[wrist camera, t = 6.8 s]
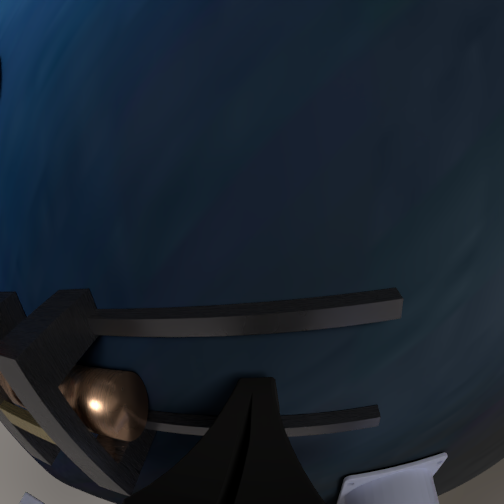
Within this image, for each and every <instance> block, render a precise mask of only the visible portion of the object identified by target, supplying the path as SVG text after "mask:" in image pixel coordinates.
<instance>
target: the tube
mask: <svg viewBox="0 0 504 504" xmlns="http://www.w3.org/2000/svg"><path fill="white" fill-rule="evenodd" d="M0 385H1V386H2V388H3V389H4V391H5V392H6V393H7V395H8V396H9V398H10V399H11V400H12V402H13V403H15V404H17V405H19V406H21V407H24V408H25V406H24V405H23V404H22V402H21V401H20V399H19V398H18V397H17V395H16V394H15V392H14V391H13V390H12V388H11V387H10V385H9V384H8V382H7V381H6V379H5V378H4V376H3V374H2V373H1V371H0ZM58 388H59V390H60V391H61V393H62V394H63V396H64V397H65V398H66V400H67V401H68V403H69V404H70V406H71V407H72V408H73V410H74V411H75V413H76V414H77V415H78V417H79V418H80V419H81V421H82V422H83V423H84V424H85V426H86V427H87V428H88V430H89V431H90V432H93V433H97V434H100V435H104V436H108V437H112V438H116V439H120V440H124V441H133V440H135V439H137V438H138V437H139V436H140V435H141V433H142V432H143V430H144V428H145V425H146V422H147V417H148V396H147V391H146V388H145V385H144V383H143V381H142V380H141V378H140V377H139V376H138V375H137V374H136V373H134V372H129V371H119V370H111V369H102V368H95V367H88V366H81V365H75V366H74V367H73V368H72V369H71V371H70V372H69V373H68V375H67V376H66V377H65V378H64V380H63V381H62V382H61V384H60V385H59V386H58Z"/></svg>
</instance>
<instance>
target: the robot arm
mask: <svg viewBox="0 0 504 504" xmlns="http://www.w3.org/2000/svg"><path fill="white" fill-rule="evenodd" d="M446 458H447V453H441V454H438V455H435V456H432V457H428V458H425V459H422V460H418V461H415V462H411V463H407V464H404V465H400V466H396V467H391V468H387V469H382V470H378V471H373V472H367V473H362V474H356V475H350V476H347V477H345V478H344V480H343V484H342V487H341V491H340V494H339V498H338V501H337V504H439V501H438V496H437V492H436V489H435V485H434V481H433V475H434V474H435V473H436V472H437V470H438V469H439V468H440V466H441V465H442V464H443V462H444V461H445V460H446ZM19 504H44V503H43V502H41V501H40V500H38V499H37V498H35V497H33V496H32V495H31V494H29V493H27V492H25V494H24V496H23V498H22V499H21V501H20V503H19ZM122 504H326V503H325V502H324V501H323V499H322V498H321V497H320V495H319V494H318V492H317V491H316V489H315V488H314V486H313V485H312V483H311V481H310V480H309V478H308V476H307V475H306V473H305V471H304V470H303V468H302V466H301V464H300V462H299V460H298V458H297V456H296V454H295V452H294V450H293V448H292V446H291V444H290V441H289V439H288V436H287V434H286V431H285V428H284V426H283V423H282V419H281V416H280V413H279V402H278V395H277V389H276V382H275V379H274V378H273V377H264V378H241V379H239V380H238V382H237V384H236V386H235V388H234V390H233V392H232V394H231V396H230V398H229V399H228V401H227V403H226V404H225V406H224V408H223V409H222V411H221V412H220V414H219V415H218V417H217V418H216V420H215V421H214V423H213V424H212V425H211V427H210V428H209V429H208V431H207V432H206V433H205V434H204V436H203V437H202V438H201V439H200V441H199V442H198V443H197V444H196V445H195V446H194V447H193V448H192V449H191V450H190V452H189V453H188V454H187V455H186V456H185V457H183V458H182V459H181V460H180V461H179V462H178V463H177V464H176V465H175V466H174V467H172V468H171V469H170V470H169V471H168V472H166V473H165V474H164V475H162V476H161V477H160V478H158V479H157V480H155V481H154V482H153V483H151V484H150V485H148V486H147V487H145V488H143V489H142V490H140V491H138V492H136V493H135V494H133V495H131V496H129V497H127V498H126V499H124V502H123V503H122Z"/></svg>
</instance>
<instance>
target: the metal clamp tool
mask: <svg viewBox="0 0 504 504" xmlns="http://www.w3.org/2000/svg"><path fill="white" fill-rule="evenodd" d="M402 305H403V298H402V296H401V295H400V293H399V292H398V290H397V289H396V288H389V289H382V290H374V291H367V292H358V293H350V294H342V295H333V296H323V297H314V298H304V299H293V300H282V301H270V302H258V303H244V304H230V305H213V306H195V307H172V308H141V309H97V308H96V306H95V303H94V301H93V298H92V295H91V293H90V290H89V289H71V290H58V291H57V292H56V293H55V294H53V295H52V296H51V297H50V298H49V299H47V300H46V301H45V302H44V303H43V304H41V305H40V306H39V307H38V308H37V309H36V310H34V311H33V312H32V313H31V314H30V315H29V316H27V317H26V315H25V313H24V311H23V309H22V306H21V304H20V302H19V299H18V297H17V294H16V292H0V371H1V373H2V374H3V376H4V378H5V379H6V381H7V382H8V384H9V385H10V387H11V388H12V390H13V391H14V392H15V394H16V395H17V397H18V398H19V399H20V401H21V402H22V404H23V405H24V406H25V408H26V409H27V410H28V411H27V410H24V409H22V408H20V407H18V406H16V405H15V404H14V403H13V402H12V400H11V399H10V398H9V396H8V395H7V393H6V392H5V391H4V389H3V388H2V386H1V385H0V421H1V422H2V423H3V424H4V425H5V427H6V428H7V429H8V430H9V431H10V432H11V433H12V435H13V436H14V437H15V438H16V439H17V440H18V441H19V442H20V443H21V444H22V445H23V447H24V448H25V449H26V450H27V451H28V452H29V453H30V454H31V455H32V456H34V457H36V458H38V459H40V460H41V461H43V462H45V463H47V464H49V465H52V464H53V462H54V460H55V458H56V457H57V455H58V453H59V452H60V450H62V451H63V452H64V453H65V454H66V455H67V456H68V457H69V458H70V459H71V460H72V461H73V462H74V463H75V464H76V465H77V466H78V467H79V468H80V469H81V470H82V471H83V472H84V473H85V474H87V475H88V476H89V477H90V478H91V479H92V480H93V481H94V482H96V483H97V484H98V485H99V486H100V487H103V488H106V489H109V490H112V491H115V492H118V493H121V494H124V495H128V496H131V495H132V492H133V490H134V487H135V484H136V482H137V479H138V477H139V474H140V471H141V469H142V466H143V464H144V461H145V459H146V456H147V454H148V451H149V449H150V446H151V444H152V441H153V438H154V436H155V433H156V431H164V432H172V433H180V434H190V435H202V436H204V434H205V433H206V432H207V431H208V429H209V428H210V427H211V425H212V424H213V423H214V421H215V420H216V418H217V417H218V416H203V415H188V414H177V413H167V412H158V411H150V410H148V417H147V422H146V425H145V428H144V430H143V432H142V433H141V435H140V436H139V437H138V438H137V439H135V440H133V441H124V440H120V439H116V438H112V437H108V436H104V435H100V434H99V435H98V436H97V438H95V437H94V436H93V434H92V433H91V432H90V431H89V430H88V428H87V427H86V426H85V424H84V423H83V422H82V421H81V419H80V418H79V417H78V415H77V414H76V413H75V411H74V410H73V408H72V407H71V406H70V404H69V403H68V401H67V400H66V398H65V397H64V396H63V394H62V393H61V391H60V390H59V388H58V386H59V385H60V384H61V382H62V381H63V380H64V378H65V377H66V376H67V375H68V373H69V372H70V371H71V369H72V368H73V367H74V366H75V364H76V363H77V362H78V361H79V359H80V358H81V357H82V356H83V354H84V353H85V352H86V351H87V349H88V348H89V347H90V346H91V344H92V343H93V342H94V341H95V339H96V338H97V337H98V336H99V335H111V336H139V337H205V336H235V335H254V334H270V333H283V332H295V331H306V330H317V329H326V328H335V327H343V326H351V325H359V324H366V323H373V322H380V321H387V320H393V319H399V318H401V313H402ZM380 418H381V416H380V412H379V409H378V405H374V406H368V407H362V408H356V409H349V410H341V411H333V412H324V413H314V414H303V415H287V416H281V419H282V423H283V426H284V428H285V431H286V434H287V436H288V437H291V436H306V435H318V434H328V433H336V432H344V431H351V430H358V429H364V428H369V427H375V426H378V425H379V421H380Z"/></svg>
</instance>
